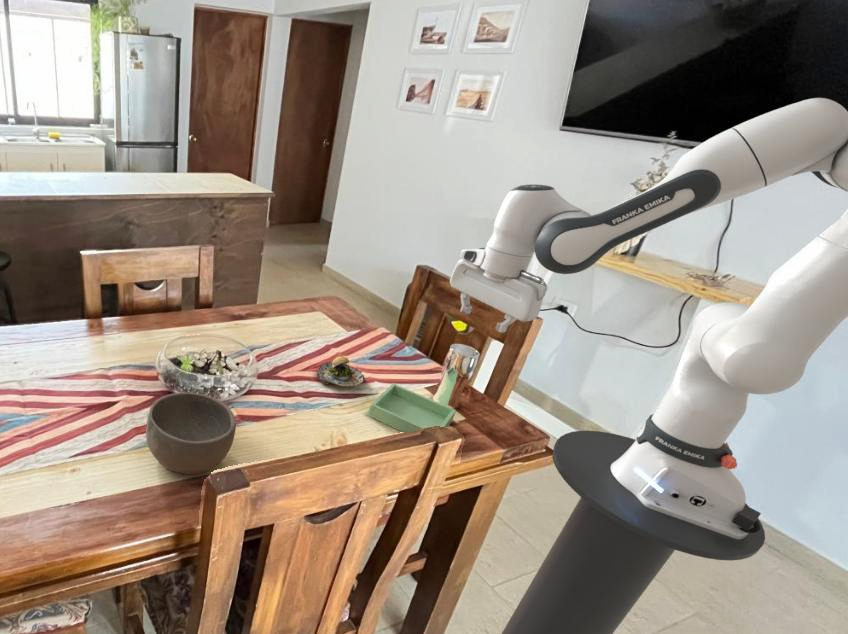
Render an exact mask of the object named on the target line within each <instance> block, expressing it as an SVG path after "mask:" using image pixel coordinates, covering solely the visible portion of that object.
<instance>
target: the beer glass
mask: <svg viewBox="0 0 848 634" xmlns="http://www.w3.org/2000/svg"><path fill="white" fill-rule="evenodd" d="M480 355H481V354H480V352H479V351H478V350H477V349H476V348H474V347H472V346H470V345H467V344H462V343H452V344H451V345H450V347H449V349H448V351H447V353H446V356H445V358H444V360H443V363H442V367H441V373H440V379H439V384H438V388H437V390H436V391H435V393H434V395H433V397H432V400H433V401H436V402H438V403H440V404H443V405H445V406H447V407H450V408H452V409H455V410H456V409H457V408H459V406H460V400H461V396H462V393H463V392H464V390H465V388H466V387H467V385H468V384H469V382H470V381H471V379H472V377H473V375H474V373H475V371H476V368H477V365H478V361H479V358H480Z"/></svg>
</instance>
